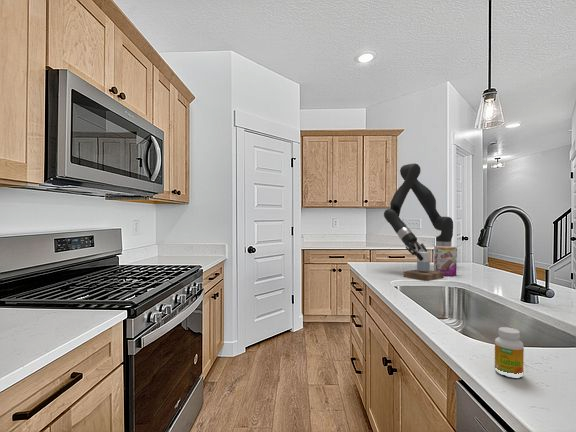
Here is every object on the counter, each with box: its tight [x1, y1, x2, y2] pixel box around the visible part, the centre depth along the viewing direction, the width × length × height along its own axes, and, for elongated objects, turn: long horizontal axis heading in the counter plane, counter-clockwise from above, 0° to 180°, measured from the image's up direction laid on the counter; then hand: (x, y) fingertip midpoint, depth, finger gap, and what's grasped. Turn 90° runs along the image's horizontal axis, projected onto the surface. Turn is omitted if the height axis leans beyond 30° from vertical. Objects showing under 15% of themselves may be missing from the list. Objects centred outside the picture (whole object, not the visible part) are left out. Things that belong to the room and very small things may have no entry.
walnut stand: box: [403, 269, 445, 282], centre depth 192 cm, size 16×14×3 cm
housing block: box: [416, 251, 431, 271], centre depth 192 cm, size 5×4×10 cm
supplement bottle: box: [494, 326, 525, 374], centre depth 77 cm, size 5×5×10 cm
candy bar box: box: [433, 245, 458, 277], centre depth 198 cm, size 11×5×16 cm, turn 84°
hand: (425, 259), depth 191 cm, fingers closed on housing block, 5 cm apart
